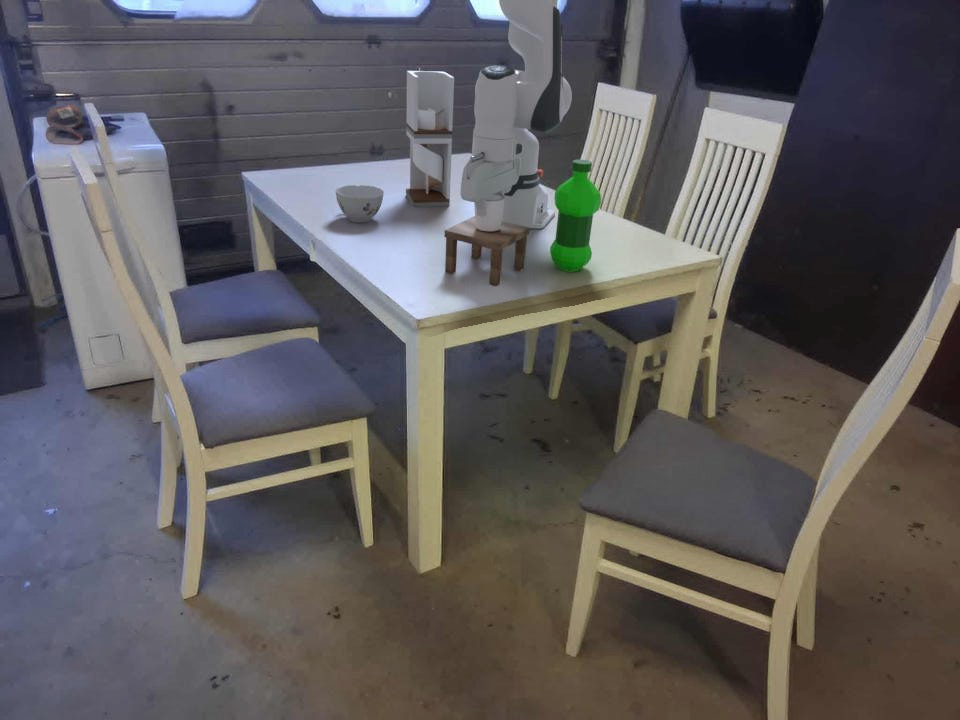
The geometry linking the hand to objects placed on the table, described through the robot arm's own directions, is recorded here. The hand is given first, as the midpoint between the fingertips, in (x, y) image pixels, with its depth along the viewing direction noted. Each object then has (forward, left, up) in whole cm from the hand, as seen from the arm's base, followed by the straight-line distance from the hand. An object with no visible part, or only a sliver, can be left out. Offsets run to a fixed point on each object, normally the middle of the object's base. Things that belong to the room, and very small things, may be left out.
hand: (488, 212), depth 158 cm
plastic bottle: (-14, +15, -14) cm, 25 cm away
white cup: (0, 0, -4) cm, 4 cm away
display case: (-37, -41, -14) cm, 57 cm away
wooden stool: (0, 0, -14) cm, 14 cm away
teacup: (-11, -46, -14) cm, 49 cm away
